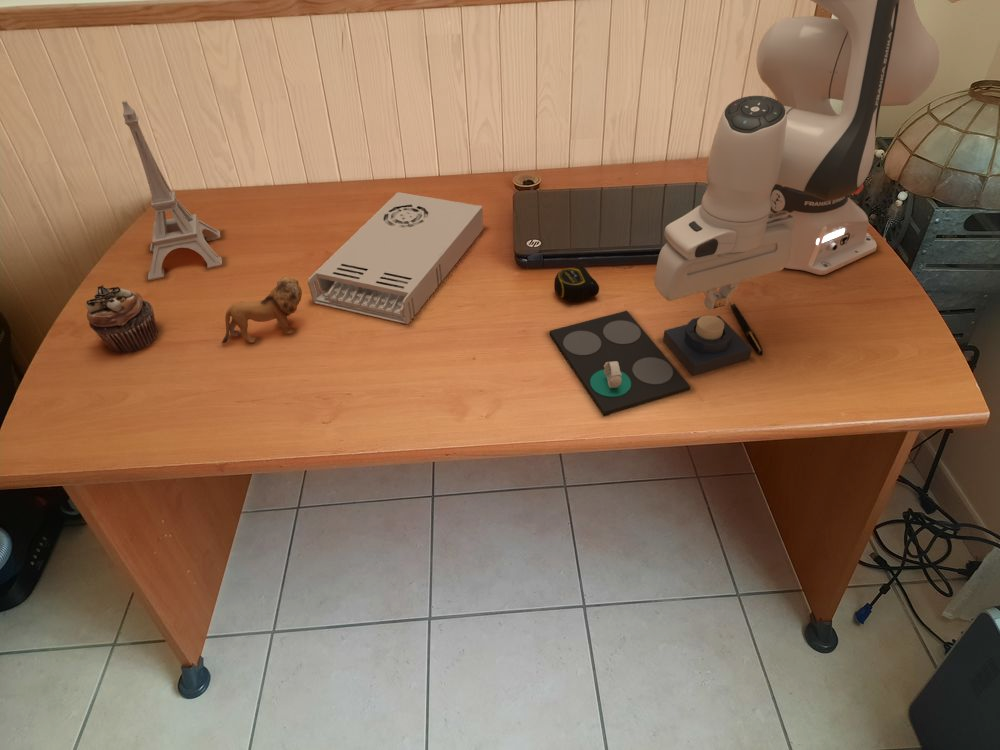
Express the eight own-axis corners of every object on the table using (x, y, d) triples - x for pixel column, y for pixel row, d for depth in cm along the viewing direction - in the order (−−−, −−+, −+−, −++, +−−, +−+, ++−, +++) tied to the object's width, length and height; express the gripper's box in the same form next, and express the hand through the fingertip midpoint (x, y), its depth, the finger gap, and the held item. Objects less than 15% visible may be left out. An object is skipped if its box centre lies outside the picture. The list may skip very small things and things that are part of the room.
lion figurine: (305, 311, 121) (293, 267, 115) (314, 327, 117) (301, 283, 111) (220, 337, 116) (202, 293, 110) (226, 355, 113) (208, 311, 107)
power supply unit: (313, 303, 123) (306, 279, 119) (400, 213, 145) (397, 191, 141) (408, 325, 117) (404, 301, 114) (484, 228, 139) (482, 206, 136)
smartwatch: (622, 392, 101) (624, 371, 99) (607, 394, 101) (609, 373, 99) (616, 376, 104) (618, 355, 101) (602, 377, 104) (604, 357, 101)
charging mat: (626, 314, 117) (626, 309, 116) (689, 390, 103) (690, 385, 102) (549, 334, 114) (549, 329, 113) (603, 415, 99) (604, 410, 99)
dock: (716, 326, 113) (721, 306, 111) (749, 359, 107) (754, 339, 104) (662, 341, 111) (665, 321, 108) (692, 376, 105) (696, 356, 102)
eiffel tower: (220, 232, 142) (166, 82, 122) (222, 265, 133) (165, 109, 113) (151, 245, 140) (85, 94, 119) (148, 280, 130) (76, 123, 110)
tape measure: (599, 300, 120) (601, 282, 117) (562, 309, 118) (563, 291, 116) (584, 279, 125) (585, 261, 122) (548, 287, 123) (548, 269, 121)
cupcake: (157, 352, 114) (133, 303, 108) (96, 360, 113) (68, 311, 107) (168, 317, 121) (146, 269, 115) (110, 325, 120) (85, 276, 114)
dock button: (713, 321, 109) (714, 312, 107) (727, 336, 106) (729, 327, 105) (690, 327, 108) (692, 318, 106) (704, 343, 105) (706, 334, 104)
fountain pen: (725, 303, 118) (727, 296, 117) (732, 302, 118) (734, 295, 117) (757, 358, 107) (759, 351, 106) (765, 357, 107) (767, 350, 106)
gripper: (782, 197, 99) (762, 277, 108) (654, 229, 94) (644, 310, 104) (811, 218, 94) (788, 300, 104) (678, 253, 90) (666, 335, 99)
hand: (715, 305), depth 104 cm, fingers closed
